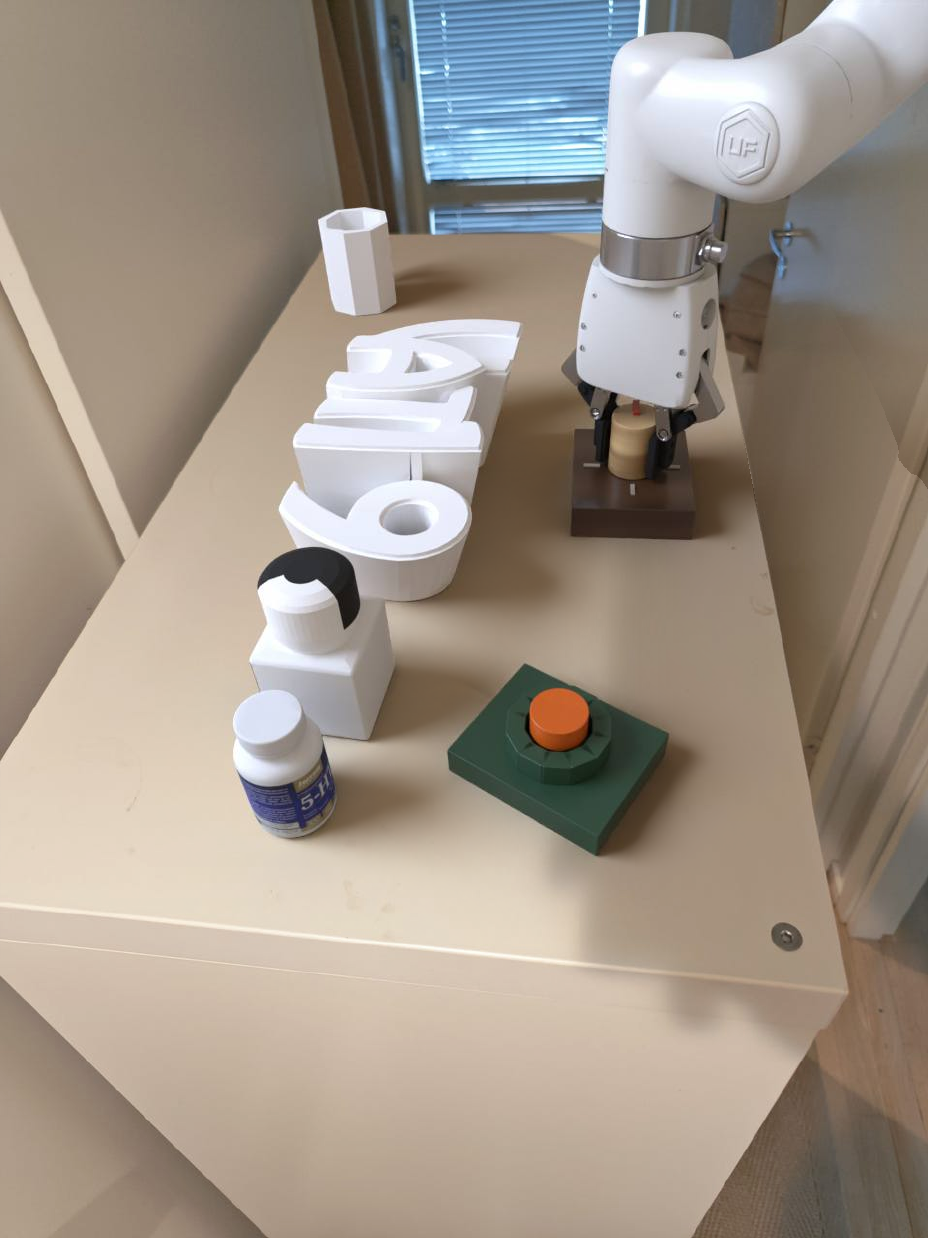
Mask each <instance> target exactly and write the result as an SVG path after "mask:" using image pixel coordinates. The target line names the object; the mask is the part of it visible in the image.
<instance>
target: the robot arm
mask: <svg viewBox="0 0 928 1238" xmlns="http://www.w3.org/2000/svg"><path fill="white" fill-rule="evenodd" d="M927 82H928V0H832V1H831V2H830V3H829V4H828V6H826V8H824V9H823V11H821V13H820V14H819V15H818V16H817V17H816V18H815V19H814V20H813V21H812V22H811V23H810V24H809V25H808V26H807V27H806V28H805V29H804V30H803V31H801V32H800V33H798V34H795V35H793V36H791V37H789V38H787V39H785V40H784V41H782V42H780V43H779V44H777V45H775V46H773V47H771V48H768V49H765V50H762V51H760V52H756V53H753V54H750V55H747V56H744V57H741V58H734V55H733V52H732V49H731V47H730V45H729V44H728V43H727V42H726V41H725V40H723V39H722V38H719V37H717V36H715V35H711V34H709V33H703V32H694V31H668V32H667V31H665V32H655V33H649V34H645V35H640V36H638V37H635V38H633V39H630V40H629V41H627V42H626V43H624V44H623V45H622V46H621V47H620V49H619V50H618V51H617V53H616V54H615V55H614V58H613V61H612V64H611V67H610V78H609V89H608V109H607V125H606V126H607V127H606V141H605V157H604V159H605V160H604V175H603V176H604V178H603V195H602V196H603V199H602V200H603V201H602V216H601V217H602V218H601V230H600V247H599V253H598V254H597V255H596V256H595V257H594V258H593V259H592V262H591V266H590V269H589V274H588V277H587V279H586V283H585V289H584V292H583V298H582V301H581V302H582V303H581V309H580V315H579V322H578V330H577V339H576V346H575V348H574V350H572V352H571V353H570V355H569V356H567V358H566V359H565V361H563V363H562V365H560V371H561V372H562V374H563V375H564V376H565V378H567V380H569V381H570V382H571V384H573V385H574V386H576V387H577V391H578V393H579V395H581V397H582V399H583V400H584V402H586V404H587V406H588V407H589V409H588V414H589V416H590V417H591V419H593V420H594V428H593V429H594V445H595V446H596V455H595V460H596V461H598V462H601V463H602V462H605V461H606V460H607V459H608V458H609V447H610V435H611V422H612V413H613V411H614V410H615V409H616V408H617V407H619V406H620V405H619V404H618V401H619V398H620V396H625V397H627V398H631V399H633V400H640V401H641V402H644V403H649V404H650V405H653V407H654V411H655V423H656V433H655V434H654V435H653V436H652V437H651V438H650V440H649V445H648V454H647V463H646V471H645V476H646V477H647V479H650V480H654V479H655V478H656V477H657V476H658V475H659V474H660V473H661V471H662V470H663V469H668V468H669V467H670V466H671V464H672V462H673V460H674V455H675V448H676V441H677V434H678V433H680V432H681V431H683V430H685V431H686V430H687V429H689V428H691V427H692V426H693V425H696V424H700V423H704V422H708V421H712V420H714V419H716V418H718V417H719V416H720V414H722V412H724V410H725V408H726V404H725V402H724V400H723V397H722V394H721V393H720V391H719V388H718V385H717V383H716V381H715V379H714V377H713V376H714V371H715V363H716V357H717V344H718V332H719V331H718V329H719V310H720V309H719V304H720V303H719V299H720V298H719V297H720V296H719V278H718V268H717V266H716V265H715V264H712V263H719V264H722V263H723V262H724V261H725V259H726V257H727V254H728V250H729V244H728V242H726V241H722V240H719V238H717V237H715V233H714V232H715V224H716V223H714V222H713V216H714V211H715V204H716V199H717V198H716V197H717V195H720V196H723V197H724V198H727V199H730V200H733V201H736V202H741V203H745V204H757V205H761V204H768V203H769V204H770V203H774V202H776V201H779V200H782V199H785V198H787V197H788V196H791V195H792V194H794V193H795V192H796V191H799V190H800V189H801V188H802V187H804V186H805V185H806V184H808V183H809V182H810V181H811V180H813V179H814V178H815V177H817V176H818V175H819V174H820V173H822V172H823V171H824V170H825V169H826V168H827V167H828V166H829V165H831V164H832V163H833V162H835V161H836V160H837V159H839V158H840V157H842V156H843V155H845V154H846V153H847V152H849V151H850V150H851V149H852V148H854V147H855V146H856V145H857V144H859V143H860V142H861V141H863V139H865V138H866V137H867V136H868V135H869V134H870V133H871V132H872V131H874V130H875V129H876V128H877V127H878V126H879V125H881V123H882V122H884V121H885V120H886V119H887V118H888V117H889V116H890V115H891V114H893V112H895V111H896V110H897V109H898V108H899V107H900V106H901V105H902V104H904V103H905V102H906V101H907V100H909V98H910V97H911V96H913V95H914V94H915V93H916V92H917V91H918V90H920V88H922V86H924V85H925V84H926V83H927ZM693 394H694V395H695V398H696V400H697V402H698V403H692V404H690V403H691V400H692V396H693Z"/></svg>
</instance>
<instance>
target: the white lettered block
mask: <svg viewBox="0 0 928 1238" xmlns="http://www.w3.org/2000/svg"><path fill="white" fill-rule="evenodd" d="M523 330H524V324H523V323H521V321H520V322H519V321H511V320H504V319H503V320H501V319H488V318H487V319H482V318H480V319H479V318H474V319H473V318H468V319H467V318H466V319H463V318H462V319H450V320H439V321H438V320H437V321H430V322H424V323H423V322H422V323H417V324H411V325H407V326H404V327H402V326H401V327H398V328H395V329H391V330H387V331H384V332H381V333H377V334H375V335H374V334H372V335H371V334H370V335H368V334H367V335H366V334H365V335H356V336H354V338H353V339H351V340H350V342H349V343H348V344H347V346H346V360H347V361H346V363H347V371H338V370H337V371H336V370H335V371H333V372H332V374H331V375H330V376H329V378H328V379H327V381H326V384H325V390H326V391H325V392H326V398H325V399H324V401H322V402H321V403H320V404H319V406H318V407H317V409H316V410H315V412H314V415H313V418H312V420H313V423H309V422H304V423H303V424H302V425H301V426H300V427H299V428H298V430H296V432H295V434H294V436H293V439H292V447H293V451H294V453H295V457H296V461H297V464H298V468H299V471H300V475H301V479H302V482H303V485H304V490H305V491H304V490H303V489H302V487H300V485H299V484H298V483H297V481H295V480H293V482H292V483H291V485H290V486H289V487H288V489H287V490H286V492H285V495H284V496H283V498H282V499H281V502H280V504H279V506H278V512H279V514H280V516H281V518H282V520H283V522H284V525H285V526H286V528H287V530H288V532H289V534H290V536H291V538H292V540H293V542H294V544H295V546H296V549H299V548H304V547H323V548H328V549H331V550H334V551H336V552H338V553H340V554H342V555H344V556H345V557H346V558H347V559H348V560H349V561H350V562H351V564H352V565H353V568H354V571H355V576H356V581H357V586H358V592H359V594H360V595H369V596H379V597H382V598H383V599H384V601H391V602H392V601H393V602H413V601H420V600H421V601H422V600H424V599H427V598H431V597H433V596H435V595H438V594H440V593H441V592H442V591H443V590H445V589H446V588H448V586H449V585H450V584H451V583H452V581H453V579H454V577H455V575H456V572H457V569H458V565H459V562H460V559H461V556H462V553H463V550H464V547H465V545H466V544H465V543H466V542H467V541H466V540H467V538H468V535H469V531H470V529H471V525H472V519H473V513H472V504H473V498H474V494H475V488H476V484H477V483H476V482H477V478H478V474H479V468H482V466H484V464H485V463H486V460H487V456H488V453H489V449H490V446H491V442H492V439H493V435H494V432H495V429H496V426H497V421H498V418H499V415H500V411H501V409H502V405H503V401H504V398H505V394H506V392H507V391H506V390H507V388H508V384H509V381H510V380H509V379H510V377H511V374H512V370H513V367H514V361H515V358H516V355H517V351H518V348H519V344H520V340H521V337H522V334H523Z"/></svg>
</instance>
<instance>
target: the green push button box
mask: <svg viewBox="0 0 928 1238" xmlns="http://www.w3.org/2000/svg"><path fill="white" fill-rule="evenodd" d="M554 688H562V689H568V690H571V691H574V692H576V693H577V694H579V695H580V696H581V697H582V698H583V699H584V700H585V701H586V703H587V705H588V708H589V720H588V732H587V736H586V738H585V739H584V741H583V742H582V743H581V744H580V745H578V746H577V747H575V748H573V749H570V750H566V751H553V750H549V749H546V748H544V747H542V746H541V745H539V744H538V743H537V742H536V741H535V740H534V739H533V737H532V735H531V733H530V706H531V703H532V701H533V700H534V698H535V697H536V696H537V695H539V694H540V693H542V692H543V691H546V690H549V689H554ZM669 738H670V733H668V732H666V731H664V730H662V729H661V728H659V727H656V726H654V725H652V724H651V723H648V722H646V721H644V720H642V719H640V718H638V717H636V716H634V715H631V714H630V713H628V712H626V711H623V710H621V709H619V708H618V707H616V706H614V705H611V704H609V703H608V702H605V701H603V700H601V699H600V698H598V696H596V695H595V694H592V693H590V692H588V691H586V690H585V689H582V688H580V687H578V686H576V685H573V684H572V685H570V684H569V683H567V682H564V681H563V680H561V679H558V678H556V677H555V676H552V675H550V674H549V673H546V672H544V671H543V670H540V669H538V668H536V667H534V666H531V665H530V664H528V663H523V664H522V666H520V668H519V669H518V670H517V671H516V672H515V673H514V675H513V676H512V677H511V678H510V679H509V680H508V682H507V683H505V685H504V686H503V687H502V688H501V689H500V690H499V691H498V693H497V694H496V695H494V697H493V698H491V700H490V701H489V702H488V704H487V705H485V707H484V708H483V710H481V711H480V713H479V714H478V715H477V716H476V717H475V718H474V719H473V721H472V722H471V723H470V724H468V726H467V727H466V728H465V729H464V730H463V732H462V733H461V734H460V735H459V736H458V737H457V738H456V739H455V741H454V742H453V743H452V744H451V745H450V746H449V747H448V748H447V749H446V754H447V763H448V770H449V771H450V772H451V773H453V774H455V775H457V776H458V777H460V778H462V779H464V780H465V781H467V782H469V783H470V784H472V785H474V786H476V787H477V788H478V789H481V790H482V791H484V792H486V793H488V794H489V795H491V796H493V797H494V798H496V799H498V800H499V801H501V802H503V803H505V804H507V805H508V806H510V807H511V808H513V809H515V810H517V811H518V812H520V813H522V814H523V815H525V816H527V817H528V818H530V819H532V820H533V821H535V822H537V823H539V824H540V825H542V826H543V827H545V828H547V829H549V830H551V831H553V832H554V833H556V834H558V835H559V836H561V837H562V838H564V839H566V840H567V841H569V842H571V843H573V844H575V845H576V846H577V847H579V848H582V849H583V850H584V851H587V852H588V853H590V854H592V855H593V856H595V857H596V856H598V854H599V853H600V851H601V850H602V848H603V847H604V845H605V844H606V842H607V841H608V839H609V838H610V837H611V835H612V834H613V832H614V830H615V829H616V828H617V826H618V825H619V823H620V822H621V820H623V817H624V816H625V815H626V813H627V811H628V810H629V808H631V806H632V804H633V803H634V801H635V800H636V798H637V797H638V796H639V794H640V792H641V791H642V790H643V788H644V787H645V785H646V784H647V782H648V781H649V779H650V778H651V776H652V775H653V773H654V772H655V771H656V769H657V767H658V766H659V764H660V763H661V762H662V761H663V758H664V757H665V756H666V753H667V747H668V743H669Z"/></svg>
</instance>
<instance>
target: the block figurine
mask: <svg viewBox="0 0 928 1238" xmlns="http://www.w3.org/2000/svg"><path fill="white" fill-rule="evenodd" d="M256 588H257V589H256V590H257V594H258V597H259V600H260V605H261V607H262V610H263V613H264V616H265V619H266V623H267V624H266V626H265V628H264V630H263V631H262V634H261V635H260V638H259V639H258V641H257V643H256V645H255V647H254V649H253V651H252V653H251V654H250V657H249V664H250V667H251V670H252V673H253V676H254V678H255V682H256V684H257V687H258V690H259V692H262V691H266V690H283V691H287V692H289V693H291V694H293V695H294V696H296V697H297V698H298V700H299V701H300V702H301V705H302V707H303V710H304V713H305V715H306V716H308V717H309V718H311V719H312V720H313V721H314V722H315V723H316V725H317V726H318V728H319V730H320V732H321V735H322V736H323V735H324V736H330V737H338V738H343V739H344V738H346V739H353V740H358V741H359V740H360V741H368V740H369V739H370V738H371V736H372V733H373V729H374V727H375V724H376V721H377V719H378V716H379V714H380V710H381V707H382V705H383V702H384V699H385V696H386V694H387V690H388V687H389V684H390V682H391V679H392V677H393V674H394V670H395V667H396V662H395V661H396V660H395V655H394V650H393V644H392V639H391V633H390V627H389V626H390V625H389V620H388V615H387V614H388V613H387V607H386V602H385V600H384V599H383V598H382V597H379V596H369V595H361V594H359V592H358V586H357V581H356V576H355V571H354V568H353V565H352V564H351V562H350V561H349V560H348V559H347V558H346V557H345V556H344V555H342V554H340V553H338V552H336V551H334V550H331V549H328V548H323V547H304V548H299V549H298V548H295V549H292V550H289V551H286V552H283V553H282V554H280V555H278V556H277V557H275V558H274V559H272V561H270V562H269V563H268V564H267V566H266V567H265V568H264V569H263V571H261V574H260V575H259V578H258V581H257V585H256Z"/></svg>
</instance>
